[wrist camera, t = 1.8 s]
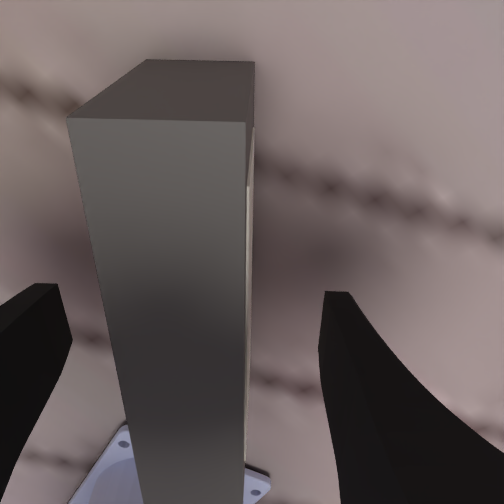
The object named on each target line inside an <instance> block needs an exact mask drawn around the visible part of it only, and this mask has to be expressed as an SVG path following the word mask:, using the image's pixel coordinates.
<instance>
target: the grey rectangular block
mask: <svg viewBox="0 0 504 504" xmlns="http://www.w3.org/2000/svg"><path fill="white" fill-rule="evenodd" d="M254 77H255V62H244V61H198V60H151V59H146V60H145V61H143V62H142V63H141V64H139V65H138V66H136V67H135V68H134V69H132V70H131V71H130V72H128V73H127V74H125V75H124V76H123V77H121V78H120V79H119V80H117V81H116V82H114V83H113V84H112V85H110V86H109V87H107V88H106V89H105V90H103V91H102V92H101V93H99V94H98V95H96V96H95V97H94V98H92V99H91V100H90V101H88V102H87V103H85V104H84V105H83V106H81V107H80V108H78V109H77V110H76V111H74V112H73V113H72V114H70V115H69V116H67V117H66V122H67V127H68V132H69V137H70V142H71V147H72V152H73V157H74V162H75V167H76V172H77V177H78V182H79V187H80V192H81V197H82V202H83V206H84V211H85V216H86V221H87V226H88V231H89V236H90V241H91V246H92V251H93V256H94V261H95V266H96V271H97V276H98V281H99V286H100V291H101V296H102V301H103V306H104V311H105V316H106V320H107V325H108V330H109V335H110V340H111V345H112V350H113V355H114V360H115V365H116V370H117V375H118V380H119V385H120V390H121V395H122V400H123V405H124V410H125V415H126V420H127V425H128V429H129V434H130V439H131V444H132V449H133V454H134V459H135V464H136V469H137V474H138V479H139V484H140V489H141V494H142V499H143V504H243V497H244V475H245V461H246V445H247V424H248V402H249V380H250V351H251V296H252V242H253V187H254V133H255V127H254Z"/></svg>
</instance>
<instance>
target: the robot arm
mask: <svg viewBox="0 0 504 504" xmlns="http://www.w3.org/2000/svg"><path fill="white" fill-rule="evenodd" d="M72 341H73V339H72V335H71V332H70V328H69V324H68V321H67V317H66V313H65V310H64V306H63V302H62V299H61V295H60V291H59V288H58V284H48V283H35V284H33V285H31V286H30V287H28V288H26V289H25V290H23V291H22V292H20V293H19V294H17V295H16V296H14V297H13V298H11V299H10V300H8V301H7V302H5V303H4V304H3V305H1V306H0V502H1V499H2V497H3V494H4V492H5V489H6V487H7V484H8V482H9V479H10V476H11V474H12V471H13V469H14V466H15V464H16V462H17V460H18V458H19V456H20V453H21V451H22V449H23V447H24V445H25V443H26V441H27V439H28V437H29V435H30V434H31V432H32V430H33V428H34V426H35V424H36V422H37V420H38V418H39V416H40V414H41V412H42V410H43V409H44V407H45V405H46V403H47V401H48V399H49V397H50V395H51V393H52V391H53V389H54V387H55V385H56V383H57V381H58V379H59V377H60V375H61V373H62V370H63V367H64V365H65V362H66V359H67V356H68V353H69V350H70V347H71V344H72ZM318 353H319V368H320V380H321V387H322V392H323V397H324V402H325V408H326V413H327V418H328V423H329V428H330V433H331V438H332V443H333V449H334V454H335V459H336V465H337V472H338V479H339V489H340V499H341V504H504V453H503V452H501V451H500V450H499V449H497V448H496V447H494V446H493V445H492V444H490V443H489V442H488V441H486V440H485V439H484V438H483V437H481V436H480V435H479V434H477V433H476V432H475V431H474V430H473V429H471V428H470V427H469V426H468V425H466V424H465V423H464V422H463V421H462V420H460V419H459V418H458V417H457V416H455V415H454V414H453V413H452V412H451V411H450V410H448V409H447V408H446V407H445V406H444V405H443V404H442V403H441V402H439V401H438V400H437V399H436V398H435V397H434V396H433V395H432V394H431V393H430V392H429V391H428V390H427V389H426V388H425V387H424V386H423V385H422V384H421V383H420V382H419V381H418V380H417V379H416V378H415V377H414V376H413V375H412V373H411V372H410V371H409V370H408V369H407V368H406V367H405V366H404V365H403V363H402V362H401V361H400V360H399V359H398V358H397V356H396V355H395V354H394V353H393V352H392V351H391V349H390V348H389V347H388V346H387V344H386V343H385V342H384V340H383V339H382V338H381V337H380V335H379V334H378V333H377V332H376V330H375V329H374V328H373V326H372V325H371V323H370V322H369V321H368V319H367V318H366V316H365V315H364V314H363V312H362V311H361V309H360V308H359V306H358V305H357V303H356V302H355V300H354V299H353V297H352V296H351V295H350V293H349V292H336V291H325V295H324V303H323V311H322V320H321V328H320V336H319V344H318ZM270 489H271V480H270V478H269V477H267V476H265V475H263V474H260V473H257V472H255V471H252V470H250V469H247V468H245V475H244V497H243V504H255V503H256V502H257V501H258V500H259V499H260V498H261V497H262V496H264V495H265V494H266V493H267V492H268V491H269V490H270ZM68 504H143V499H142V494H141V489H140V484H139V479H138V474H137V469H136V464H135V459H134V454H133V449H132V444H131V439H130V434H129V429H128V425H124V426H122V427H120V429H119V430H118V431H117V433H116V434H115V436H114V437H113V439H112V440H111V442H110V443H109V445H108V446H107V447H106V449H105V450H104V452H103V453H102V455H101V456H100V458H99V459H98V460H97V462H96V463H95V465H94V466H93V468H92V469H91V471H90V472H89V474H88V475H87V476H86V478H85V479H84V481H83V482H82V484H81V485H80V487H79V488H78V490H77V491H76V492H75V494H74V495H73V497H72V498H71V500H70V501H69V503H68Z"/></svg>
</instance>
